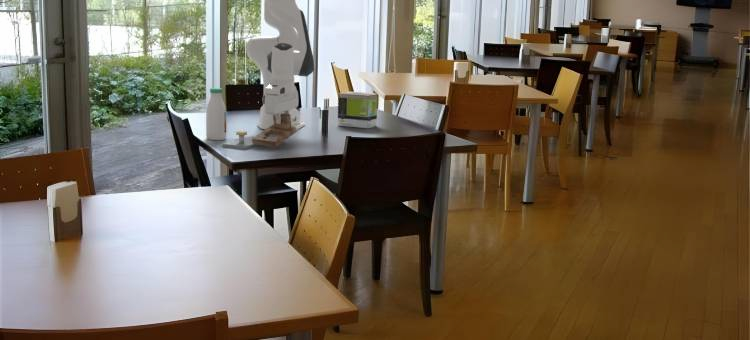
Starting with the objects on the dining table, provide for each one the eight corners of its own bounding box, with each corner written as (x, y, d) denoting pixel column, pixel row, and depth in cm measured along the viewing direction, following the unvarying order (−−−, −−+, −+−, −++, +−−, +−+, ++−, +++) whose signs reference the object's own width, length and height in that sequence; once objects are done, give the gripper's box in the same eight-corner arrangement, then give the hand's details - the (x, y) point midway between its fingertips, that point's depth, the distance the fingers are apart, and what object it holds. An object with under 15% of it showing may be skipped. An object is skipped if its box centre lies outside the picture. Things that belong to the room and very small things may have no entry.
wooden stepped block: (273, 129, 335) (272, 112, 332) (296, 131, 331) (295, 114, 328) (252, 143, 322) (250, 126, 319) (275, 146, 318) (274, 129, 315)
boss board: (250, 138, 340) (250, 125, 339) (272, 141, 336) (272, 127, 335) (222, 146, 322) (222, 132, 321) (245, 149, 318) (245, 135, 317)
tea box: (377, 126, 381) (378, 93, 378) (367, 129, 372) (368, 95, 369) (347, 122, 387) (347, 90, 384) (336, 125, 378) (337, 92, 375)
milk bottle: (222, 141, 333) (221, 90, 329) (203, 139, 334) (202, 88, 330) (229, 138, 340) (229, 87, 336) (210, 136, 342) (210, 86, 337)
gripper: (288, 82, 337) (288, 117, 341) (261, 89, 319) (261, 125, 322) (302, 84, 335) (302, 118, 338) (276, 91, 316) (276, 127, 320)
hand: (282, 122), depth 330 cm, fingers closed on wooden stepped block, 3 cm apart
